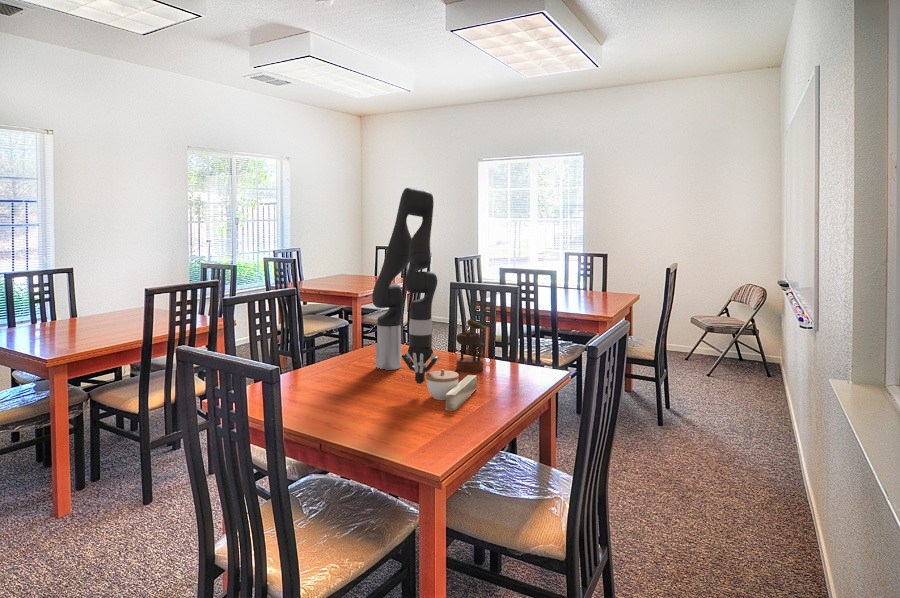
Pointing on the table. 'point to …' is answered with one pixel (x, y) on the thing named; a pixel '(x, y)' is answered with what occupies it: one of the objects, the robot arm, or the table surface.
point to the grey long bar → (461, 392)
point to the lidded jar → (441, 383)
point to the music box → (469, 339)
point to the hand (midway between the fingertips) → (419, 383)
